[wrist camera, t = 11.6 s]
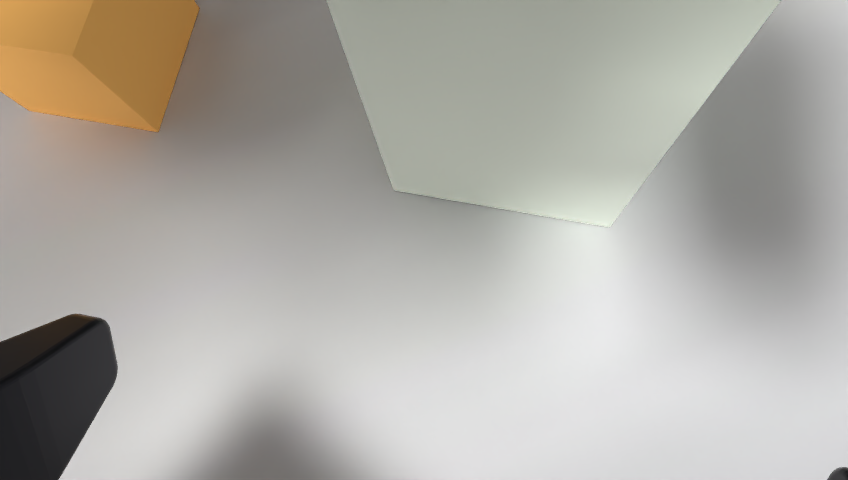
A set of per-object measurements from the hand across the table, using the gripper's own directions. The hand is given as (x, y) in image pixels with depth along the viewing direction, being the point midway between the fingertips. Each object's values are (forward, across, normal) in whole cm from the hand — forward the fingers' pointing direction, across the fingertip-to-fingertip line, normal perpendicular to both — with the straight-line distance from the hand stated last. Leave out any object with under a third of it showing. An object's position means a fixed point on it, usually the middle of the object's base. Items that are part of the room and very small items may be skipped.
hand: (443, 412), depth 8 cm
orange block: (+11, +12, 0) cm, 16 cm away
